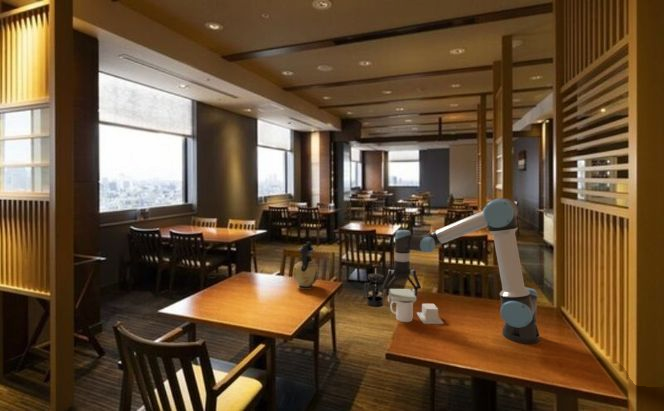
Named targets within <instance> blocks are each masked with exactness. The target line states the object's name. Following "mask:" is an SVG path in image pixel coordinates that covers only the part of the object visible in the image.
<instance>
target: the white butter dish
mask: <svg viewBox="0 0 664 411" xmlns="http://www.w3.org/2000/svg"><path fill="white" fill-rule="evenodd" d="M416 314H417V316H418V318H419V319H420V321H421V322H422V323H423V325H444V321H443V320H442V319H441V317H440V316H439V308H438V307H437V306H436V305H435V304H434V303H421V311H420V312H419V311H417V312H416Z"/></svg>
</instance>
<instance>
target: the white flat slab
mask: <svg viewBox="0 0 664 411" xmlns="http://www.w3.org/2000/svg"><path fill="white" fill-rule="evenodd" d="M390 300H391V302H392V301H415V302H416V301H417V296H415V295H414V294H413V293H412V290H411V289H410V288H390Z"/></svg>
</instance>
